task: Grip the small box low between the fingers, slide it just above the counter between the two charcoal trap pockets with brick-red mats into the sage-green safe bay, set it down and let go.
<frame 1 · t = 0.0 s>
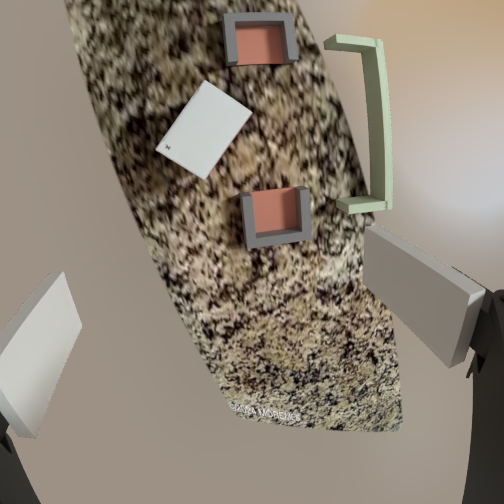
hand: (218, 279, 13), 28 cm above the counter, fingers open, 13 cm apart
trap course: (281, 124, 38), on the counter
small box: (201, 132, 37), on the counter
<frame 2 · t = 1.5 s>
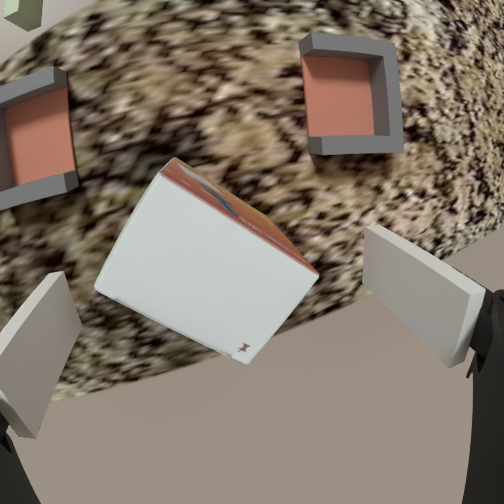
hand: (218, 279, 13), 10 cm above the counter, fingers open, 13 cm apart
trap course: (183, 76, 18), on the counter
small box: (199, 218, 22), on the counter
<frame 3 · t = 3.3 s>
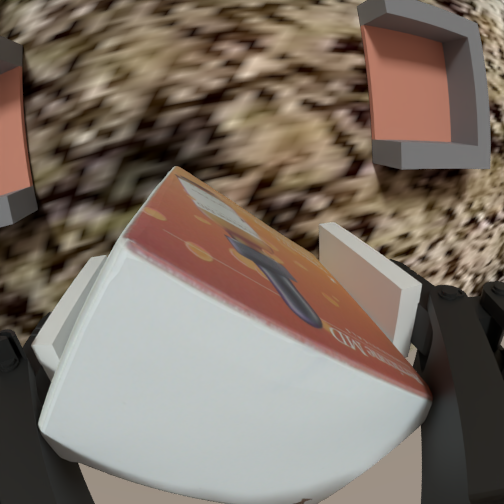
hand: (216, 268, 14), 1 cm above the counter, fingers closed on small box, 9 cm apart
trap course: (190, 42, 11), on the counter
small box: (214, 257, 15), on the counter, touching gripper
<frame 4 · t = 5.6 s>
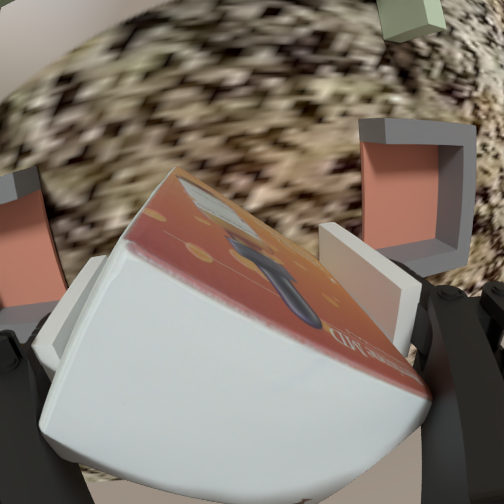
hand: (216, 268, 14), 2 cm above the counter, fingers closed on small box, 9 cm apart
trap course: (200, 176, 14), on the counter
small box: (214, 257, 15), point 1 cm above the counter, touching gripper
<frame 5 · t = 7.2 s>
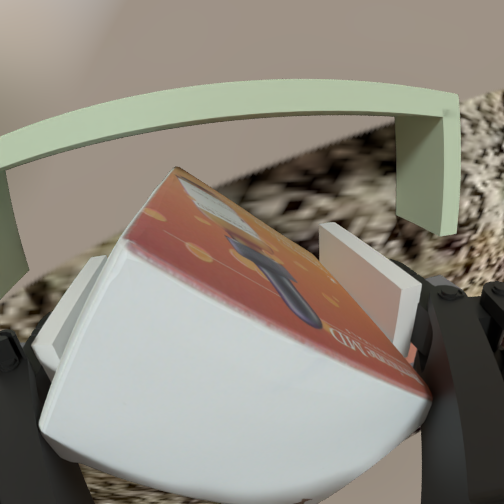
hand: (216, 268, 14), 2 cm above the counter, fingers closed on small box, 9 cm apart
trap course: (229, 351, 18), on the counter
small box: (214, 257, 15), point 1 cm above the counter, touching gripper
when the fingers open (1 cm above the counter, at t = 8.3 s): small box stays where it is, on the counter.
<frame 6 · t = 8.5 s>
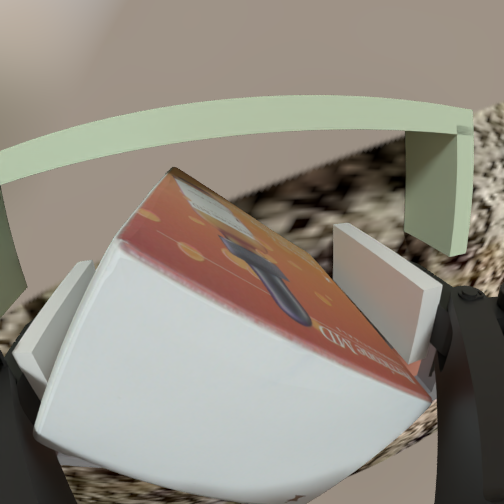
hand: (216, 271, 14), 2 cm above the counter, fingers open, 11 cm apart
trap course: (232, 369, 18), on the counter
small box: (211, 256, 15), on the counter
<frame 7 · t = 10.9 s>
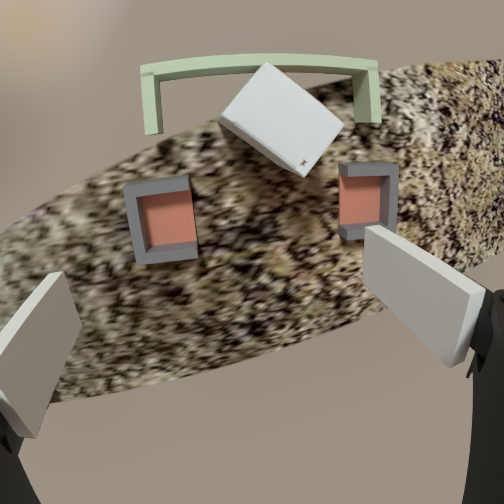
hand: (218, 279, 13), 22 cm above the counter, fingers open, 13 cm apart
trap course: (268, 187, 34), on the counter
small box: (262, 122, 32), on the counter
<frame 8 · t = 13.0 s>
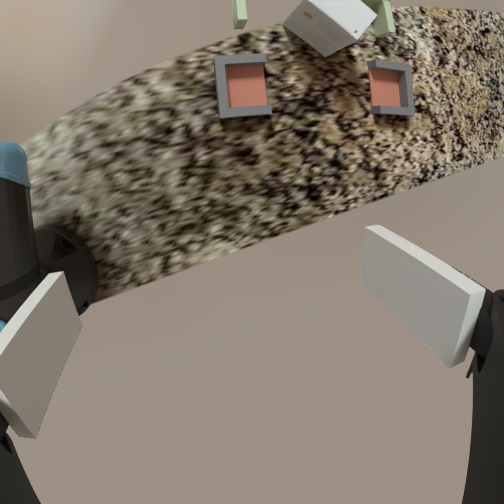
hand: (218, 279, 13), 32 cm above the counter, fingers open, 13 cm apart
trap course: (319, 72, 39), on the counter
small box: (312, 29, 37), on the counter
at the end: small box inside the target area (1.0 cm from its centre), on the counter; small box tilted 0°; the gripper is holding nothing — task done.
